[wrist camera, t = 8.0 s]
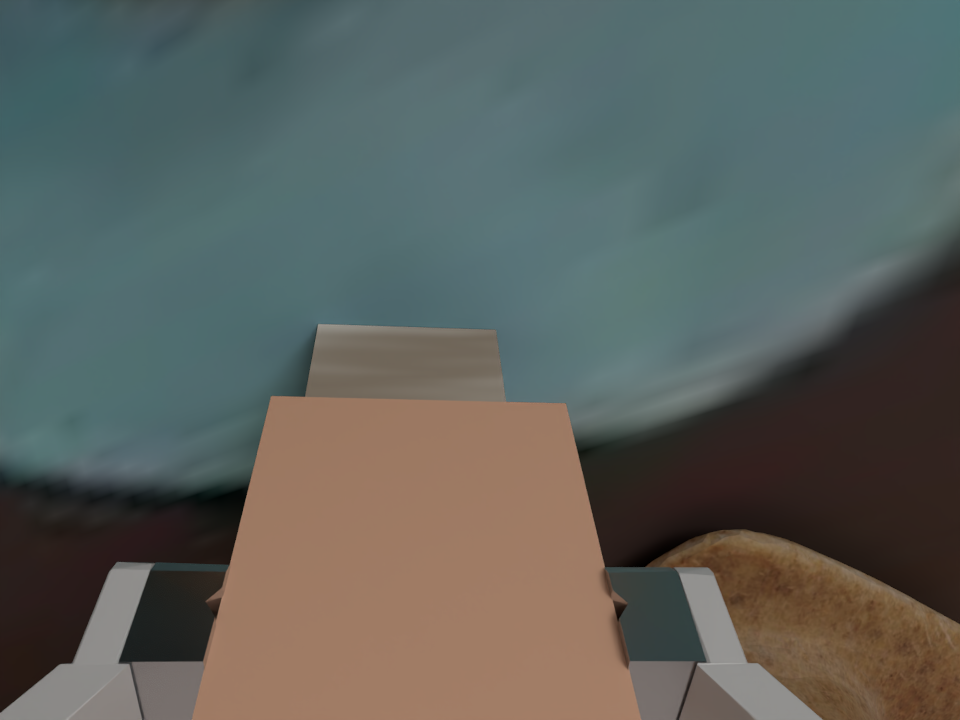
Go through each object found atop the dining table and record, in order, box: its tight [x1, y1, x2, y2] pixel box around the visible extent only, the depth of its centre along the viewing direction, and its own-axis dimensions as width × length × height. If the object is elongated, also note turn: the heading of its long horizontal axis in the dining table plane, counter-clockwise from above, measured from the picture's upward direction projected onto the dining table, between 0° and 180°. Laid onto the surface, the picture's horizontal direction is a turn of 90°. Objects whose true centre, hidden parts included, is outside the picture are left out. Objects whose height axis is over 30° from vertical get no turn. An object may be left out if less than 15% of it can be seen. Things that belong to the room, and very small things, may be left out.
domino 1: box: [305, 324, 506, 402], centre depth 21 cm, size 2×5×9 cm, turn 86°
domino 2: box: [192, 396, 641, 720], centre depth 11 cm, size 2×5×9 cm, turn 86°
